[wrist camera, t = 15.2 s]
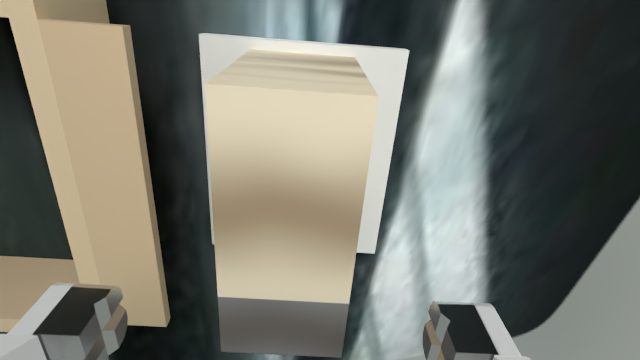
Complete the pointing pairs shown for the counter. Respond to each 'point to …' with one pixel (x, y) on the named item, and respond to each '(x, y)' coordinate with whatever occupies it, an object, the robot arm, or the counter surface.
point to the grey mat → (381, 71)
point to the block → (287, 197)
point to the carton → (88, 159)
